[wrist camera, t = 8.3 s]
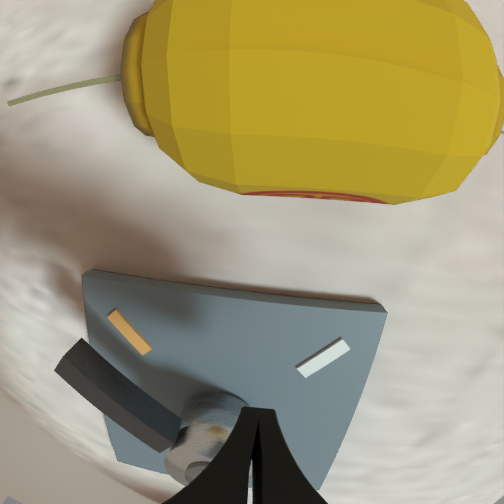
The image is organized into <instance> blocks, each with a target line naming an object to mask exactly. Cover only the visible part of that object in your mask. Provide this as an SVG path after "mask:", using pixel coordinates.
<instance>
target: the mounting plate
mask: <svg viewBox="0 0 504 504" xmlns="http://www.w3.org/2000/svg"><path fill="white" fill-rule="evenodd" d="M82 284H83V295H84V305H85V313H86V321H87V329H88V336H89V342H90V346H91V347H92V348H93V349H95V350H96V351H97V352H98V353H99V354H100V355H101V356H102V357H103V358H105V359H106V360H107V361H108V362H109V363H110V364H111V365H113V366H114V367H115V368H116V369H117V370H118V371H120V372H121V373H122V374H123V375H124V376H126V377H127V378H128V379H129V380H131V381H132V382H133V383H134V384H136V385H137V386H138V387H139V388H141V389H142V390H143V391H144V392H146V393H147V394H148V395H150V396H151V397H152V398H154V399H155V400H156V401H158V402H159V403H160V404H162V405H163V406H164V407H166V408H167V409H168V410H170V411H171V412H173V413H174V414H175V415H177V416H178V417H180V414H181V412H182V409H183V406H184V404H185V403H186V402H187V401H188V400H189V399H190V398H192V397H194V396H196V395H199V394H203V393H222V394H227V395H230V396H233V397H235V398H238V399H240V400H241V401H243V402H244V403H246V404H247V405H248V406H249V407H257V408H267V409H274V410H275V411H276V415H277V419H278V422H279V426H280V428H281V431H282V434H283V436H284V439H285V441H286V443H287V445H288V448H289V450H290V452H291V454H292V456H293V457H294V459H295V461H296V463H297V465H298V466H299V468H300V469H301V471H302V473H303V474H304V475H305V477H306V478H307V480H308V481H309V482H310V484H311V485H312V486H313V488H314V489H315V490H319V489H320V487H321V486H322V484H323V482H324V480H325V478H326V476H327V473H328V471H329V469H330V467H331V465H332V463H333V461H334V459H335V457H336V454H337V452H338V450H339V448H340V446H341V443H342V441H343V439H344V436H345V434H346V432H347V429H348V427H349V425H350V422H351V420H352V417H353V415H354V412H355V410H356V407H357V405H358V402H359V399H360V397H361V394H362V391H363V389H364V386H365V383H366V380H367V377H368V374H369V372H370V369H371V366H372V363H373V360H374V357H375V354H376V350H377V347H378V344H379V341H380V337H381V334H382V331H383V327H384V324H385V320H386V317H387V311H386V310H385V309H384V307H383V306H382V305H381V304H370V303H358V302H346V301H335V300H325V299H314V298H304V297H294V296H285V295H275V294H266V293H258V292H249V291H240V290H232V289H224V288H216V287H208V286H200V285H193V284H185V283H178V282H171V281H164V280H157V279H150V278H143V277H136V276H130V275H123V274H117V273H110V272H104V271H98V270H92V269H91V270H90V271H88V272H86V273H85V274H83V275H82ZM104 416H105V420H106V424H107V428H108V431H109V435H110V438H111V442H112V445H113V449H114V452H115V455H116V458H117V461H119V462H123V463H126V464H129V465H133V466H136V467H140V468H144V469H148V470H152V471H156V472H160V473H164V474H168V475H170V474H169V473H168V472H167V470H166V468H165V465H164V461H165V457H166V454H167V452H168V449H169V448H168V449H166V450H164V451H163V452H161V453H159V452H157V451H155V450H154V449H152V448H151V447H149V446H148V445H146V444H145V443H143V442H142V441H140V440H139V439H138V438H136V437H135V436H133V435H132V434H130V433H129V432H128V431H126V430H125V429H124V428H122V427H121V426H119V425H118V424H117V423H115V422H114V421H113V420H112V419H110V418H109V417H108V416H106V415H105V414H104ZM248 487H251V488H252V480H251V482H250V484H249V485H248Z"/></svg>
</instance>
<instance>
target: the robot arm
mask: <svg viewBox="0 0 504 504" xmlns="http://www.w3.org/2000/svg"><path fill="white" fill-rule="evenodd" d="M251 461H252V491H253V504H328V503H327V502H326V501H325V500H324V499H323V498H322V497H321V496H320V494H319V493H318V492H317V491H316V490H315V489H314V488H313V486H312V485H311V484H310V482H309V481H308V480H307V478H306V477H305V475H304V474H303V473H302V471H301V469H300V468H299V466H298V465H297V463H296V461H295V459H294V457H293V456H292V454H291V452H290V450H289V448H288V445H287V443H286V441H285V439H284V436H283V434H282V431H281V428H280V426H279V422H278V419H277V415H276V411H275V410H274V409H267V408H257V407H247V406H244V407H242V408H241V411H240V415H239V417H238V420H237V422H236V424H235V426H234V428H233V430H232V432H231V433H230V435H229V437H228V439H227V440H226V442H225V443H224V445H223V446H222V448H221V449H220V450H219V452H218V453H217V455H216V456H215V457H214V458H213V460H212V461H211V462H210V463H209V464H208V465H207V467H206V468H205V469H204V470H203V471H202V472H201V473H200V474H199V475H198V476H197V477H196V478H195V479H194V480H193V481H192V482H190V483H189V484H188V485H187V486H186V487H184V488H183V489H182V490H181V491H179V492H178V493H177V494H176V495H174V496H173V497H171V498H170V499H168V500H167V501H165V502H164V503H162V504H247V498H248V483H249V470H250V465H251ZM3 504H21V503H20V502H18V501H17V500H15V499H13V498H12V497H10V496H7V498H6V499H5V501H4V502H3Z"/></svg>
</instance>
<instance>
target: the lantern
mask: <svg viewBox="0 0 504 504" xmlns="http://www.w3.org/2000/svg"><path fill="white" fill-rule="evenodd" d="M119 80H122V85H123V94H124V101H125V104H126V107H127V109H128V112H129V114H130V117H131V119H132V122H133V124H134V126H135V127H136V128H137V129H139V130H140V131H141V132H142V133H143V134H145V135H147V136H152V137H155V138H156V141H157V143H158V146H159V148H160V149H161V150H162V151H163V152H165V153H166V154H167V155H168V156H169V157H170V158H172V159H173V160H174V161H175V162H176V163H177V164H179V165H180V166H181V167H182V168H183V169H184V170H186V171H187V172H188V173H189V174H190V175H191V176H193V177H194V178H195V179H196V180H197V181H199V182H201V183H205V184H208V185H211V186H215V187H218V188H221V189H225V190H228V191H231V192H234V193H238V194H241V195H258V196H281V197H300V198H317V199H332V200H345V201H358V202H370V203H381V204H392V205H396V204H401V203H405V202H410V201H415V200H420V199H425V198H430V197H434V196H438V195H442V194H445V193H449V192H453V191H456V190H457V188H458V187H459V186H460V185H461V183H462V182H463V181H464V180H465V178H466V177H467V176H468V174H469V173H470V172H471V171H472V169H473V168H474V167H475V165H476V164H477V163H478V161H479V160H480V159H481V157H482V156H483V155H485V154H487V153H488V151H489V150H490V148H491V147H492V146H493V144H494V143H495V142H496V140H497V139H498V137H499V136H500V133H502V134H504V132H503V131H501V129H502V125H503V121H504V78H503V76H502V74H501V71H500V69H499V67H498V65H497V61H496V57H495V53H494V50H493V47H492V44H491V41H490V38H489V36H488V35H487V33H486V31H485V30H484V28H483V26H482V25H481V23H480V22H479V20H478V18H477V17H476V15H475V14H474V12H473V11H472V9H471V8H470V6H469V5H468V3H467V2H465V1H464V0H155V2H154V4H153V6H152V8H151V10H150V12H147V13H145V14H143V15H141V16H139V17H138V18H136V19H134V21H133V23H132V25H131V27H130V29H129V31H128V33H127V35H126V37H125V40H124V47H123V55H122V63H121V74H120V75H114V76H108V77H102V78H97V79H92V80H87V81H82V82H77V83H73V84H68V85H64V86H60V87H56V88H52V89H48V90H44V91H41V92H37V93H34V94H30V95H27V96H24V97H20V98H17V99H14V100H11V101H8V102H7V103H8V105H9V106H12V105H15V104H18V103H21V102H25V101H28V100H32V99H35V98H39V97H42V96H46V95H50V94H54V93H58V92H62V91H67V90H71V89H76V88H80V87H85V86H90V85H95V84H101V83H107V82H113V81H119Z"/></svg>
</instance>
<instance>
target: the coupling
mask: <svg viewBox="0 0 504 504" xmlns="http://www.w3.org/2000/svg"><path fill="white" fill-rule="evenodd" d="M54 371H55V372H56V373H57V374H59V375H60V376H61V377H62V378H63V379H64V380H65V381H66V382H67V383H68V384H69V385H71V386H72V387H73V388H74V389H75V390H76V391H77V392H78V393H80V394H81V395H82V396H83V397H84V398H85V399H87V400H88V401H89V402H90V403H91V404H93V405H94V406H95V407H96V408H98V409H99V410H100V411H101V412H103V413H104V414H105V415H106V416H108V417H109V418H110V419H112V420H113V421H114V422H115V423H117V424H118V425H119V426H121V427H122V428H124V429H125V430H126V431H128V432H129V433H130V434H132V435H133V436H135V437H136V438H138V439H139V440H140V441H142V442H143V443H145V444H146V445H148V446H149V447H151V448H152V449H154V450H155V451H157V452H159V453H161V452H163V451H164V450H166V449H168V448H169V449H168V452H167V454H166V457H165V461H164V465H165V468H166V470H167V472H168V473H169V474H170V476H171V477H172V478H174V479H175V480H176V481H178V482H179V483H181V484H182V485H184V486H187V485H188V484H189V483H190V482H192V481H193V480H194V479H195V478H196V477H197V476H198V475H199V474H200V473H201V472H202V471H203V470H204V469H205V468H206V467H207V465H208V464H209V463H210V462H211V461H212V460H213V458H214V457H215V456H216V455H217V453H218V452H219V450H220V449H221V448H222V446H223V445H224V443H225V442H226V440H227V439H228V437H229V435H230V433H231V432H232V430H233V428H234V426H235V424H236V422H237V420H238V417H239V415H240V411H241V408H242V407H244V406H247V407H249V406H248V405H247V404H246V403H244V402H243V401H241V400H240V399H238V398H235V397H233V396H230V395H227V394H222V393H203V394H199V395H196V396H194V397H192V398H190V399H189V400H188V401H187V402H186V403H185V404H184V406H183V409H182V412H181V414H180V417H178V416H177V415H175V414H174V413H173V412H171V411H170V410H168V409H167V408H166V407H164V406H163V405H162V404H160V403H159V402H158V401H156V400H155V399H154V398H152V397H151V396H150V395H148V394H147V393H146V392H144V391H143V390H142V389H141V388H139V387H138V386H137V385H136V384H134V383H133V382H132V381H131V380H129V379H128V378H127V377H126V376H124V375H123V374H122V373H121V372H120V371H118V370H117V369H116V368H115V367H114V366H113V365H111V364H110V363H109V362H108V361H107V360H106V359H105V358H103V357H102V356H101V355H100V354H99V353H98V352H97V351H96V350H95V349H93V348H92V347H91V346H90V345H89V344H88V343H87V342H86V341H85V340H84V339H83V338H81V339H80V340H79V341H78V342H77V343H76V344H75V345H74V346H73V347H72V348H71V349H70V350H69V351H68V352H67V353H66V354H65V355H64V356H63V357H62V359H61V360H60V362H59V364H58V365H57V367H56V368H55V370H54ZM251 480H252V461H251V465H250V470H249V483H248V485H249V484H250V482H251Z"/></svg>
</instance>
